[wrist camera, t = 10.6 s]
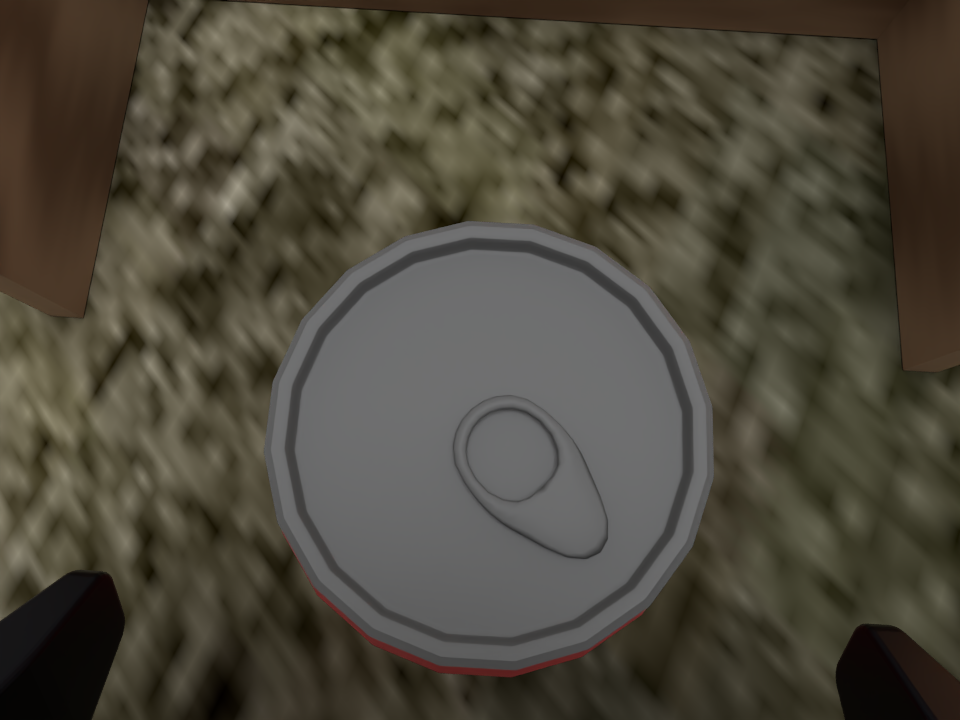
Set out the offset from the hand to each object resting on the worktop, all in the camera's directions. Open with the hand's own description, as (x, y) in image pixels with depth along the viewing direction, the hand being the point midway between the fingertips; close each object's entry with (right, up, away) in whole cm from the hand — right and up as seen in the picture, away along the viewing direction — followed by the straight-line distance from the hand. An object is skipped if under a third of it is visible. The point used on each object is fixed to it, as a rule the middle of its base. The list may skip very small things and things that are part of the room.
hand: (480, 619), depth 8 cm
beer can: (0, -1, +12) cm, 12 cm away
